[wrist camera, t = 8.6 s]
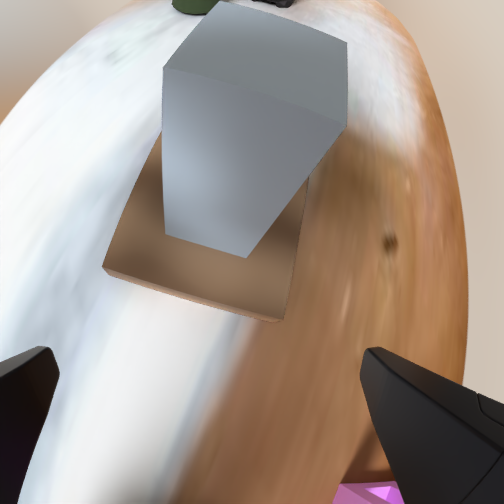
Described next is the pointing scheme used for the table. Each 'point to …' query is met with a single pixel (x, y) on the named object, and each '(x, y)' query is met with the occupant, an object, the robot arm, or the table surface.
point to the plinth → (203, 254)
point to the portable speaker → (281, 2)
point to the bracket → (368, 493)
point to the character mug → (194, 6)
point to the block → (246, 123)
